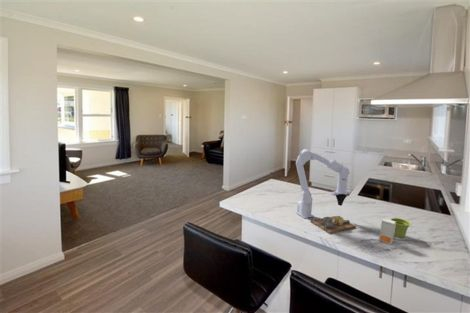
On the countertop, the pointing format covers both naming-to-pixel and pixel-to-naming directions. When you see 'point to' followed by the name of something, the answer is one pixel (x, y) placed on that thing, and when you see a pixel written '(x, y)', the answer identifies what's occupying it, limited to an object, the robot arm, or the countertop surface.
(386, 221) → the skincare box
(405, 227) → the plant pot
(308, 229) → the countertop surface
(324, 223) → the board
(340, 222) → the leg
